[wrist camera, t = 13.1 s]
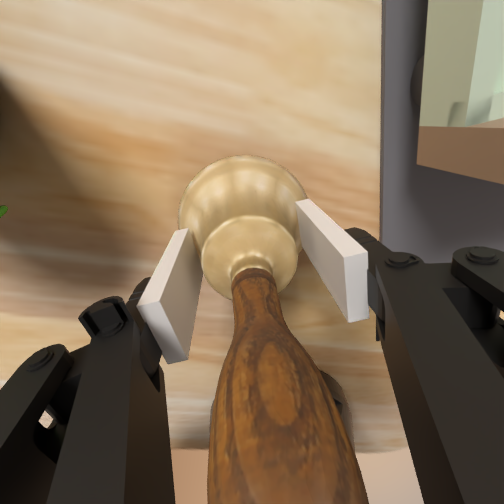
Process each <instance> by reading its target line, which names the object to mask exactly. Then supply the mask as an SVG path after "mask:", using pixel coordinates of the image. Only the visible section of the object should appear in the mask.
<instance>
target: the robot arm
mask: <svg viewBox="0 0 504 504" xmlns="http://www.w3.org/2000/svg"><path fill="white" fill-rule="evenodd" d="M295 205H296V211H297V218H298V224H299V231H300V237H301V244H302V247H303V249H304V251H305V252H306V254H307V256H308V257H309V259H310V261H311V262H312V264H313V266H314V267H315V269H316V270H317V272H318V274H319V275H320V277H321V279H322V280H323V282H324V284H325V285H326V287H327V289H328V290H329V292H330V294H331V295H332V297H333V298H334V300H335V302H336V303H337V305H338V307H339V308H340V310H341V312H342V313H343V315H344V317H345V318H346V320H347V322H348V323H351V322H355V321H360V320H364V319H368V318H369V306H370V307H371V309H372V310H373V311H374V312H375V314H376V341H381V345H382V349H383V353H384V356H385V360H386V364H387V367H388V371H389V375H390V378H391V382H392V386H393V390H394V393H395V397H396V401H397V404H398V408H399V412H400V415H401V419H402V423H403V427H404V430H405V434H406V438H407V441H408V445H409V449H410V452H411V456H412V460H413V464H414V467H415V471H416V475H417V478H418V482H419V486H420V489H421V493H422V497H423V501H424V504H504V320H503V319H501V318H500V317H499V315H500V311H501V310H502V311H503V312H504V252H503V251H500V250H497V249H493V248H488V247H484V246H480V247H479V246H472V247H464V248H461V249H458V250H456V251H455V252H454V253H453V256H452V263H431V264H429V263H424V261H423V260H422V259H421V258H420V257H418V256H416V255H414V254H411V253H406V252H392V251H391V250H390V249H388V248H387V247H386V246H384V245H383V244H382V243H381V242H379V241H377V239H375V238H374V237H373V236H371V235H370V234H369V233H368V232H366V231H365V230H362V229H358V228H355V227H354V228H350V229H346V230H343V229H342V228H341V227H340V226H339V225H338V224H336V223H335V222H334V221H333V220H332V219H331V218H330V217H329V216H328V215H327V214H325V213H324V212H323V211H322V210H321V209H320V208H319V207H318V206H317V205H315V204H314V203H313V202H312V201H311V200H310V199H305V200H301V201H297V202H295ZM202 277H203V270H202V266H201V261H200V258H199V255H198V253H197V250H196V247H195V244H194V241H193V239H192V236H191V233H190V230H189V228H186V229H181V230H177V231H175V232H174V234H173V236H172V238H171V240H170V242H169V244H168V246H167V248H166V250H165V252H164V254H163V256H162V258H161V259H160V261H159V263H158V265H157V267H156V269H155V271H154V273H153V275H152V277H148V278H145V279H144V280H142V281H141V282H140V283H139V284H138V285H137V286H136V288H135V290H134V291H133V294H132V295H131V297H130V298H129V301H128V302H127V303H126V304H125V303H124V301H123V299H122V298H121V297H119V296H111V297H108V298H104V299H102V300H100V301H98V302H96V303H94V304H92V305H91V306H89V307H88V308H87V309H85V310H84V311H83V312H82V313H81V315H80V316H79V318H78V319H79V321H80V322H81V323H82V325H83V326H84V328H85V329H86V331H87V332H88V334H89V335H90V336H91V342H90V344H88V345H86V346H84V347H82V348H79V349H77V350H75V351H73V352H70V353H69V351H68V350H67V349H66V347H65V346H64V345H61V344H55V345H51V346H48V347H46V348H43V349H41V350H40V351H37V352H35V353H34V354H33V355H32V356H31V357H29V358H28V359H27V360H26V361H25V362H24V363H23V364H22V365H21V366H20V367H19V368H18V369H17V370H16V371H15V373H14V374H13V375H12V376H11V377H10V379H9V380H8V381H7V382H6V384H5V385H4V386H3V387H2V388H1V390H0V504H175V493H174V482H173V471H172V460H171V448H170V437H169V426H168V415H167V404H166V393H165V382H164V373H163V370H162V368H161V366H160V365H159V362H160V358H161V355H163V357H164V358H165V360H166V362H167V364H172V363H176V362H180V361H185V360H188V356H189V350H190V345H191V339H192V333H193V328H194V322H195V316H196V311H197V305H198V299H199V294H200V288H201V282H202ZM319 372H320V373H321V375H322V377H323V379H324V381H325V383H326V385H327V387H328V389H329V391H330V393H331V395H332V397H333V399H334V402H335V404H336V406H337V408H338V411H339V413H340V415H341V417H342V420H343V422H344V425H345V428H346V430H347V433H348V436H349V438H350V441H351V444H352V447H353V449H354V452H355V447H354V437H353V426H352V417H351V412H350V408H349V406H348V403H347V401H346V398H345V396H344V394H343V391H342V389H341V387H340V386H339V384H338V383H337V382H336V381H335V380H334V379H333V378H332V377H330V376H329V375H327V374H325V373H323V372H321V371H319ZM214 400H215V399H214ZM213 406H214V401H213V404H212V407H211V415H210V429H209V433H210V430H211V421H212V412H213ZM44 411H46V412H47V413H48V414H49V415H50V416H51V417H52V418H53V421H52V423H51V424H50V426H49V427H48V428H45V427H44V426H43V425H42V424H41V423H40V422H39V419H40V417H41V416H42V414H43V412H44Z"/></svg>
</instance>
